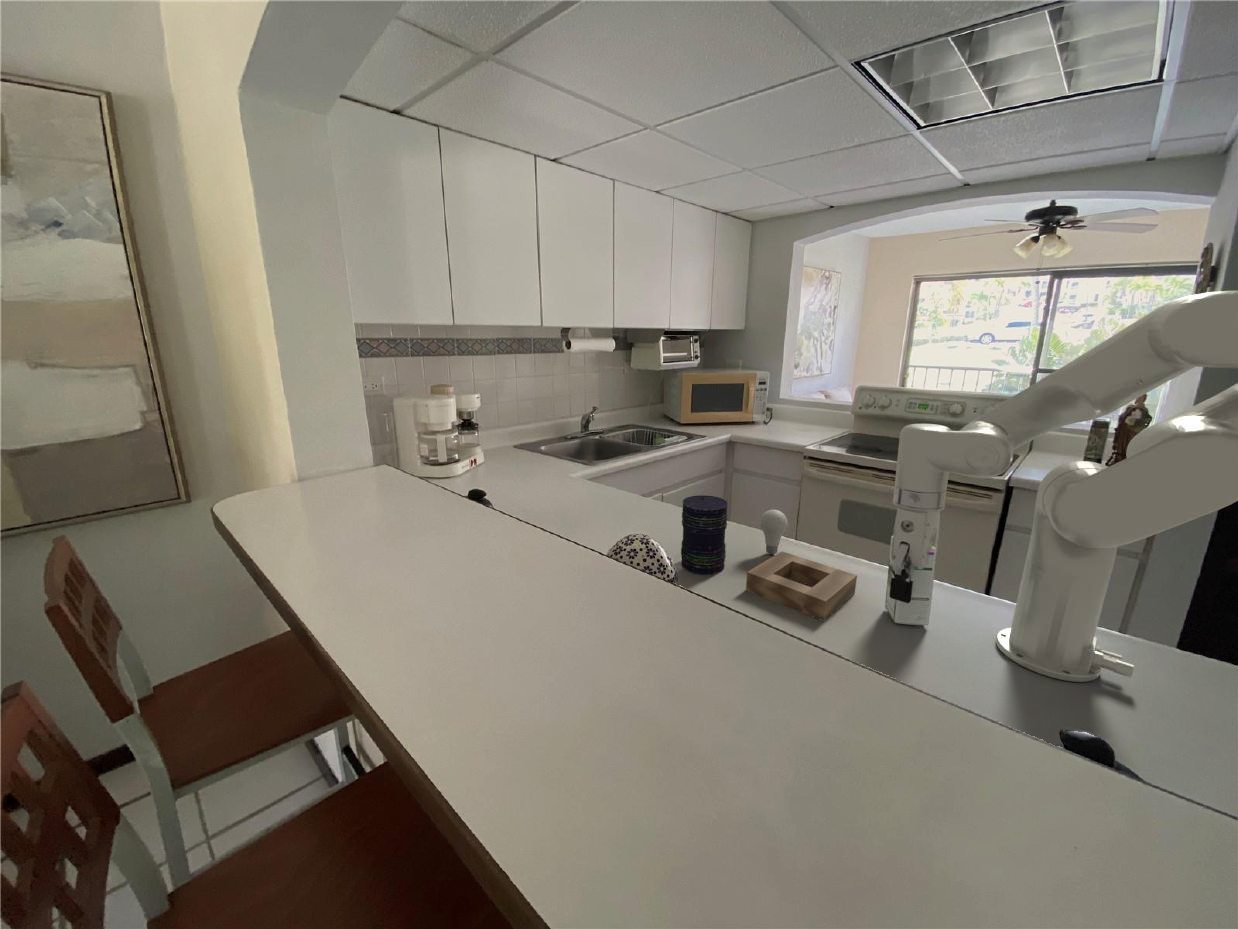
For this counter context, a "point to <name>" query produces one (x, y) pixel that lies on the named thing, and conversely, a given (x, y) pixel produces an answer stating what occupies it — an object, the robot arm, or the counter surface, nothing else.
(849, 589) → the holder block
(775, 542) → the lightbulb
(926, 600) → the syrup box
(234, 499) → the counter surface
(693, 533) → the storage jar
